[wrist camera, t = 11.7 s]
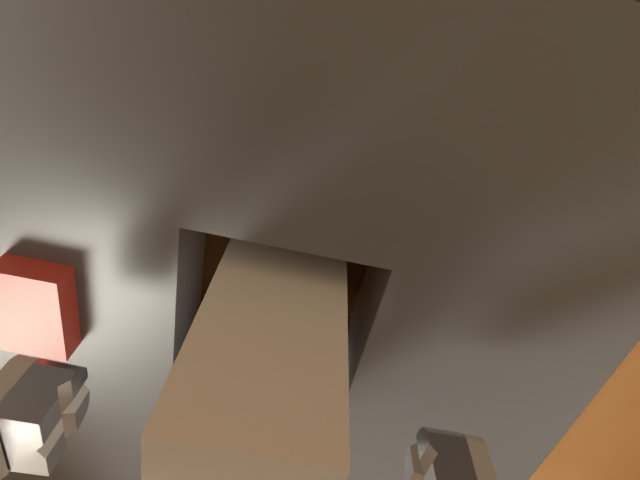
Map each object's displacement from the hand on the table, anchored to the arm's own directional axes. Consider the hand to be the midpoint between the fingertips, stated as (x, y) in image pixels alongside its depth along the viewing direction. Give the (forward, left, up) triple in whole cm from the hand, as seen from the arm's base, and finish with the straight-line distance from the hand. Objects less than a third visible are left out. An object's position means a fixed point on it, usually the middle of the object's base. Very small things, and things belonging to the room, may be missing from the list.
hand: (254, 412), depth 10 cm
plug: (0, 0, -5) cm, 5 cm away
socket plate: (0, 0, -5) cm, 5 cm away
